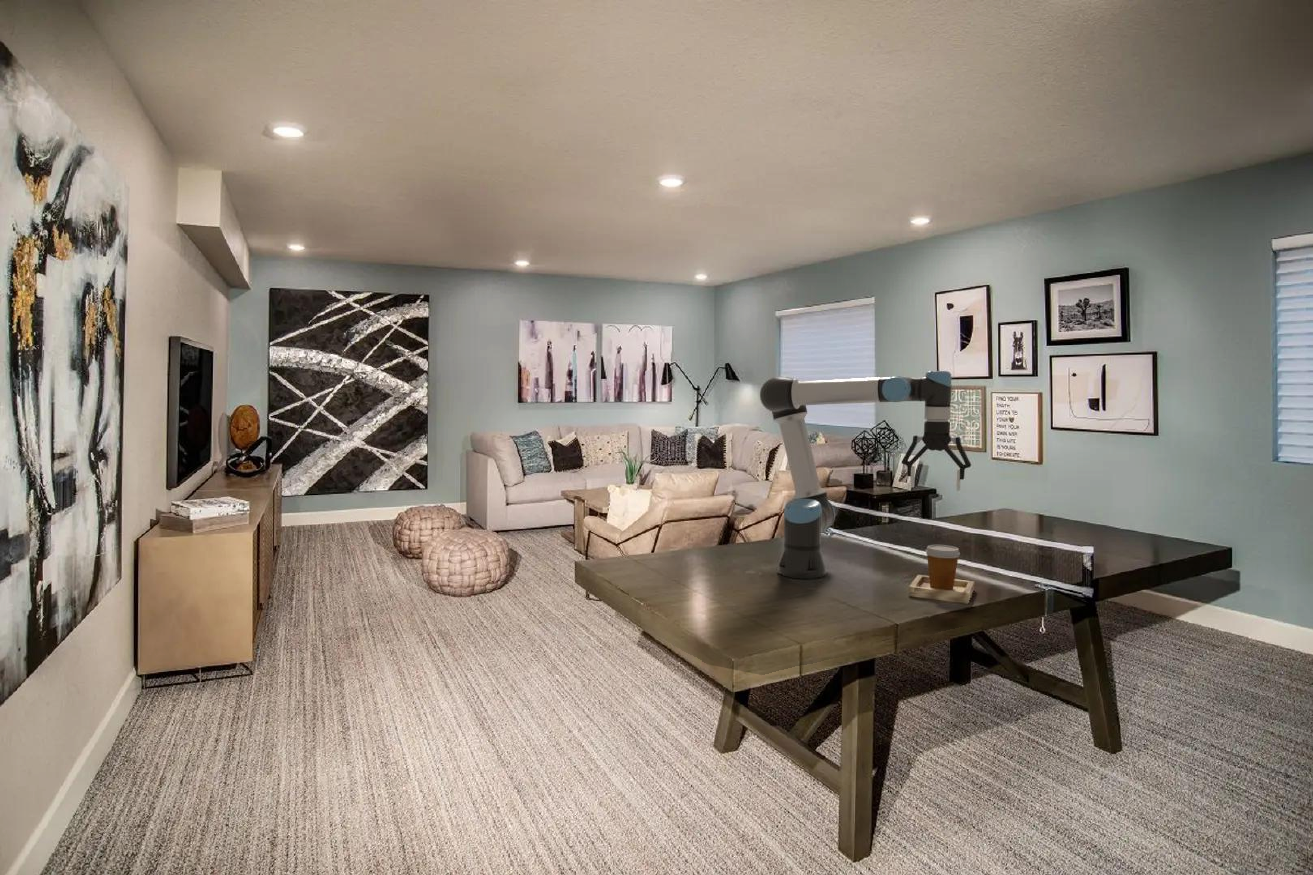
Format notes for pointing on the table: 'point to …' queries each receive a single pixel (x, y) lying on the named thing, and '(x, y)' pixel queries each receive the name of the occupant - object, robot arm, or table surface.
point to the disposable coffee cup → (942, 566)
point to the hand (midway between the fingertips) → (935, 488)
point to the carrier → (958, 594)
